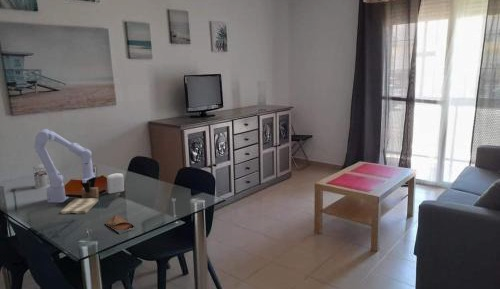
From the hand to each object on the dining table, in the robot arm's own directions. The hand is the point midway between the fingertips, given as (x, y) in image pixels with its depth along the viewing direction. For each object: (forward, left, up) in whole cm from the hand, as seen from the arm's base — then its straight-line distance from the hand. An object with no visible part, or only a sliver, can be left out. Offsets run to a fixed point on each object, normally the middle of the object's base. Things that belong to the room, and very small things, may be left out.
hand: (90, 190), depth 236 cm
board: (0, -16, -5) cm, 16 cm away
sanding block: (0, 0, -5) cm, 5 cm away
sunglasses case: (+30, -42, -5) cm, 52 cm away
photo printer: (+13, +9, -5) cm, 16 cm away
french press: (-41, +21, -5) cm, 46 cm away
